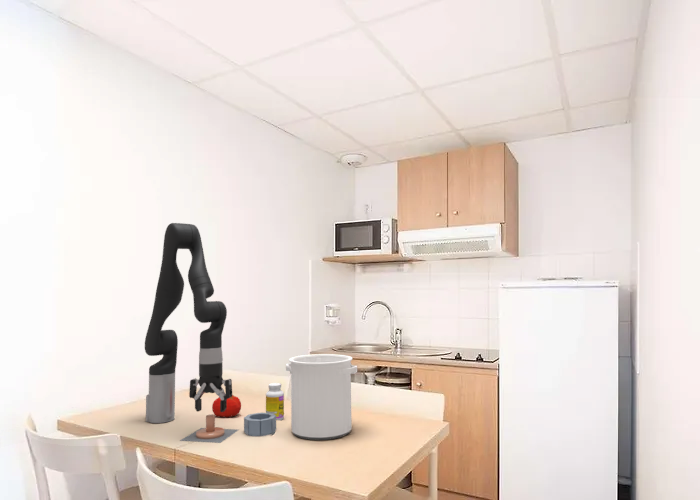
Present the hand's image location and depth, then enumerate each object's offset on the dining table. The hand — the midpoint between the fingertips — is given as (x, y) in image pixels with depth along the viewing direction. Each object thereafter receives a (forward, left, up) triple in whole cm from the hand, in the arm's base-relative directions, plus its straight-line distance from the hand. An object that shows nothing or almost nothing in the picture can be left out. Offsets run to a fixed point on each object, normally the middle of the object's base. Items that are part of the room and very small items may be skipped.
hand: (210, 411), depth 159 cm
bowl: (+15, +6, -8) cm, 18 cm away
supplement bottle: (+14, +23, -9) cm, 28 cm away
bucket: (+35, +11, -9) cm, 38 cm away
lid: (0, 0, -8) cm, 8 cm away
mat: (0, 0, -8) cm, 8 cm away
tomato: (-6, +25, -9) cm, 27 cm away
